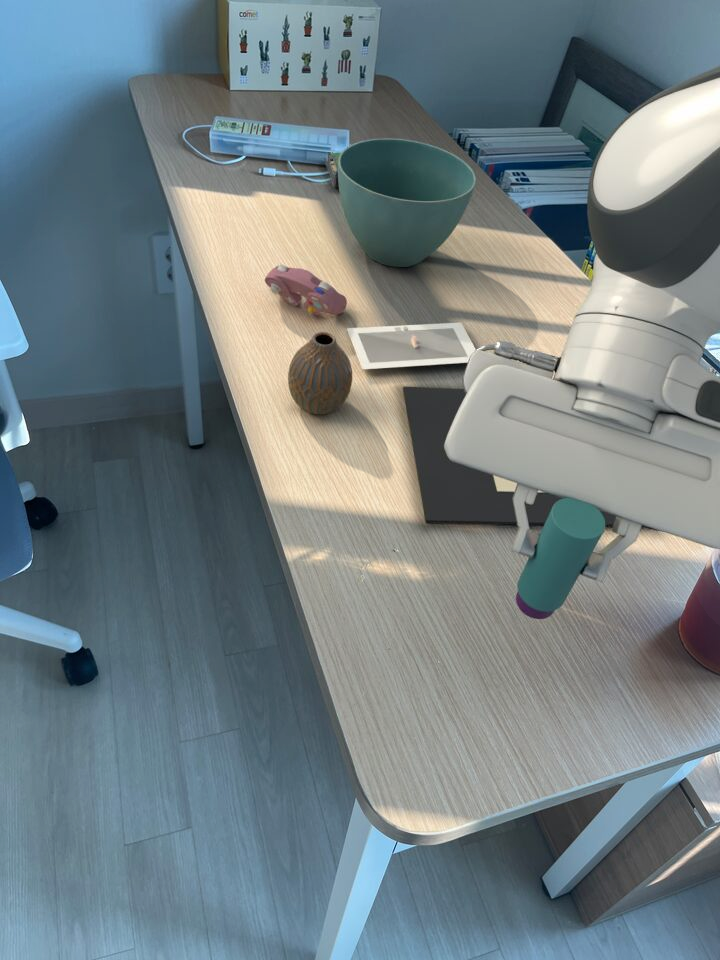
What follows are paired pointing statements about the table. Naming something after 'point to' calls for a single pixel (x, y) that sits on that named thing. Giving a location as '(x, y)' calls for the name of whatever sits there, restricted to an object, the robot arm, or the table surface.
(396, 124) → the table surface
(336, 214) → the table surface
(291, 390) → the vase
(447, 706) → the table surface
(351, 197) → the plant pot
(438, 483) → the desk mat
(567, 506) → the cylinder
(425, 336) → the white framed picture
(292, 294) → the video game controller
